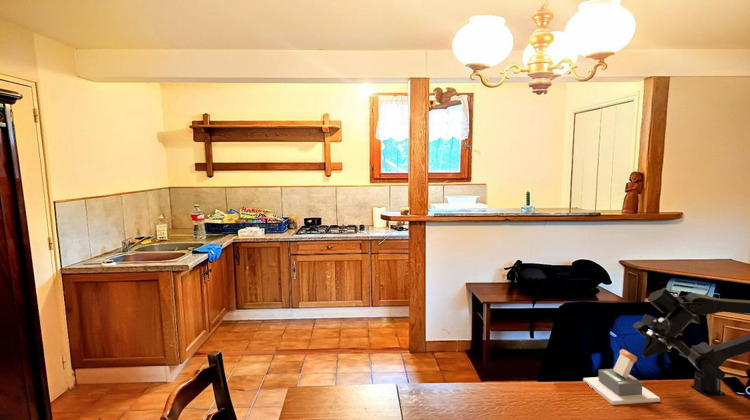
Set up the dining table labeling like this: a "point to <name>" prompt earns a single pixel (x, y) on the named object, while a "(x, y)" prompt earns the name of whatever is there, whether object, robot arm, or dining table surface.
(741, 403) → the dining table surface
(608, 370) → the box
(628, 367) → the breaker lever
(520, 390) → the dining table surface
